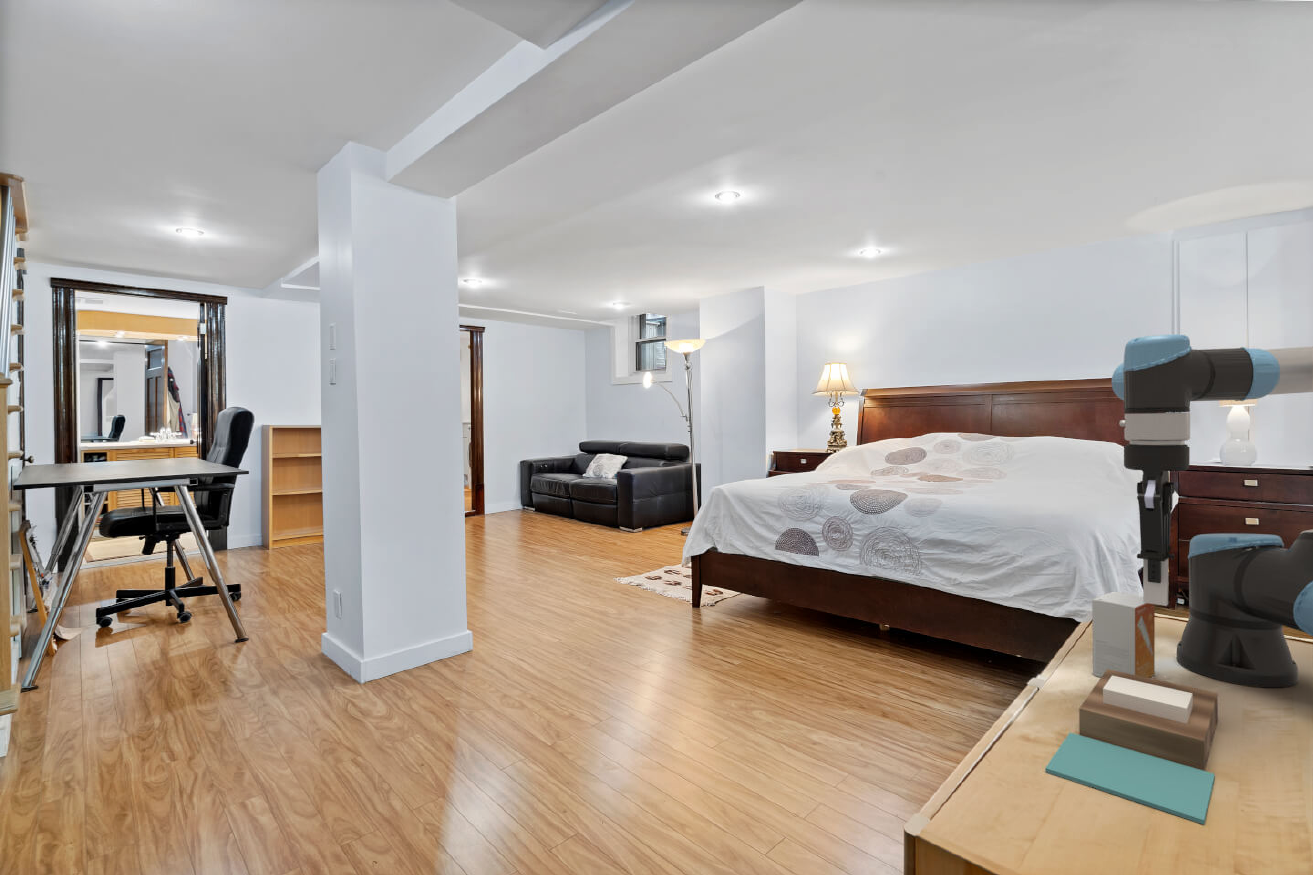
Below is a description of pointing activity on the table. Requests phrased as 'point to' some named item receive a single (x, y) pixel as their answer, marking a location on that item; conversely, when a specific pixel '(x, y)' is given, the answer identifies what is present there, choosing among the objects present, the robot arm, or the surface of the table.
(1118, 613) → the small box
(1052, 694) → the table surface
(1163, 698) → the tile
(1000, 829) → the table surface
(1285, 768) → the table surface
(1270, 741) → the table surface
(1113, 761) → the teal mat
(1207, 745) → the board
